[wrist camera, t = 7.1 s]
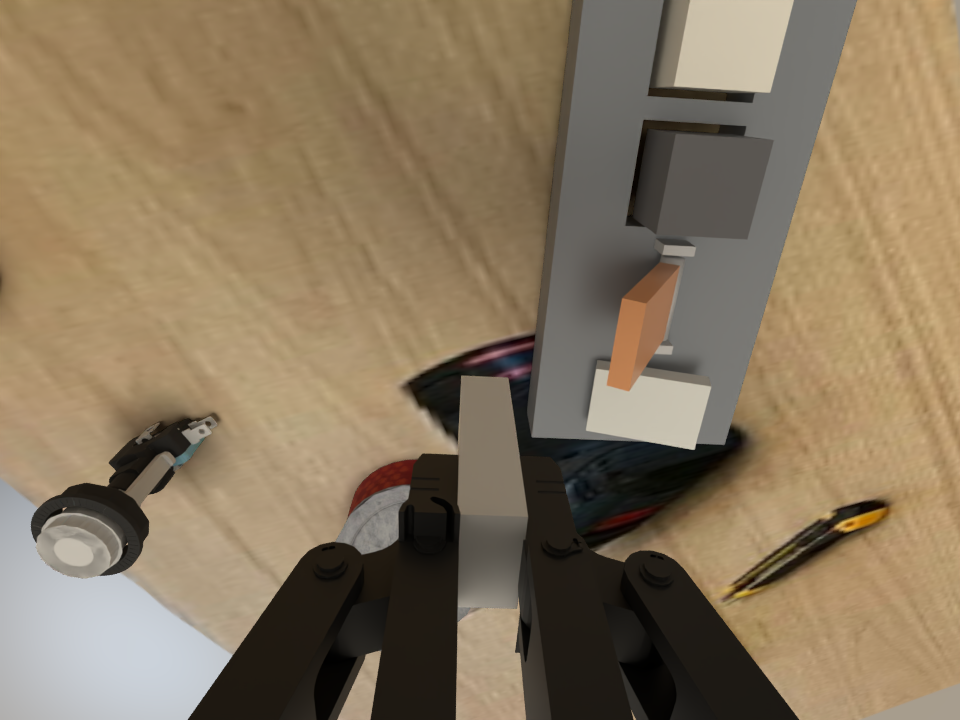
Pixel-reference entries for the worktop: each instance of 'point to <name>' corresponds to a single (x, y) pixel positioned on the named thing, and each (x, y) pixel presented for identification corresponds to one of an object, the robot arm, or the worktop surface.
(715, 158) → the dark gray button
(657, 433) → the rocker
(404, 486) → the canned food
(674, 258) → the paddle lever
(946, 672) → the worktop surface
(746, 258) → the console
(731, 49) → the ivory button
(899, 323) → the worktop surface
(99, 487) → the push button
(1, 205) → the worktop surface
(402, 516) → the robot arm
